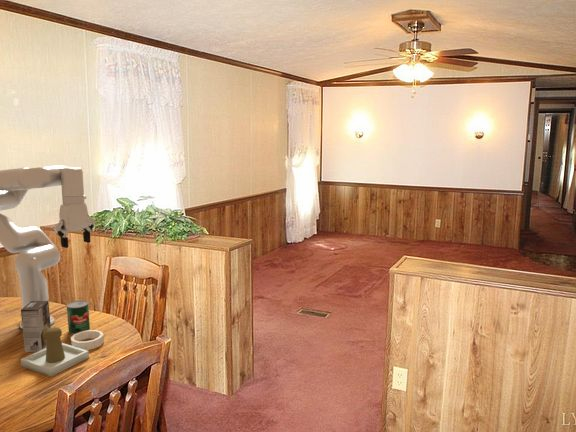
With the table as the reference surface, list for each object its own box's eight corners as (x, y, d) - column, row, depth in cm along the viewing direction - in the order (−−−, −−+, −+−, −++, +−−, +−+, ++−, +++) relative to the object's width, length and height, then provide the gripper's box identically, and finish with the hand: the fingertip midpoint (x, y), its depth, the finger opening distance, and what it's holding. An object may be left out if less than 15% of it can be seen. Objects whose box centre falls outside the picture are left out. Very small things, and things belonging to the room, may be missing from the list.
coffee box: (35, 341, 181) (31, 300, 178) (52, 340, 182) (49, 300, 179) (24, 352, 172) (19, 309, 169) (42, 351, 173) (38, 309, 170)
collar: (65, 346, 177) (64, 338, 176) (89, 335, 187) (89, 328, 186) (85, 352, 172) (85, 344, 171) (109, 341, 182) (109, 333, 181)
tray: (21, 366, 162) (20, 359, 162) (60, 348, 175) (59, 342, 175) (50, 376, 155) (50, 369, 155) (89, 357, 168) (88, 350, 168)
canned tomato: (77, 335, 186) (75, 308, 184) (64, 331, 190) (61, 305, 188) (94, 328, 193) (92, 302, 191) (81, 324, 197) (79, 299, 195)
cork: (57, 363, 162) (54, 333, 160) (41, 362, 163) (38, 331, 161) (68, 355, 167) (66, 326, 166) (53, 354, 169) (51, 324, 167)
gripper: (86, 196, 189) (88, 239, 192) (45, 202, 175) (49, 248, 178) (99, 198, 186) (101, 241, 189) (59, 204, 171) (62, 250, 174)
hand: (76, 244), depth 183 cm, fingers open, 9 cm apart
